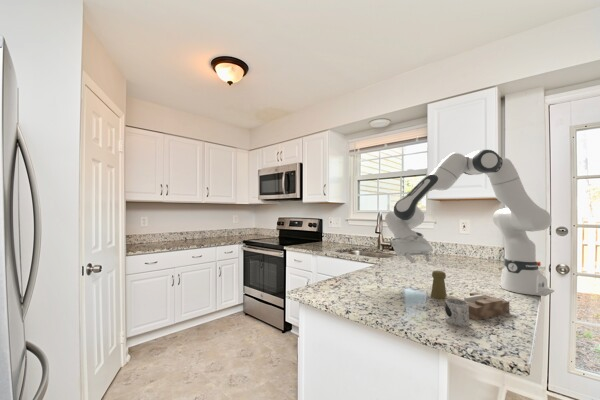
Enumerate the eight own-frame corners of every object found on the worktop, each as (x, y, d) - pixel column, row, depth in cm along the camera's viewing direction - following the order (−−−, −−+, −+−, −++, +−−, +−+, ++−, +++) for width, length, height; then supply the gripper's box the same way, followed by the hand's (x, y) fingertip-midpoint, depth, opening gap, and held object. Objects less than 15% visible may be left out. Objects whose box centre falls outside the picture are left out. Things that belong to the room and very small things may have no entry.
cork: (449, 300, 110) (449, 273, 110) (433, 298, 111) (433, 272, 112) (444, 295, 116) (444, 269, 116) (429, 294, 117) (429, 269, 118)
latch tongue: (481, 306, 102) (480, 294, 102) (483, 307, 101) (483, 295, 101) (464, 309, 98) (464, 296, 98) (467, 310, 97) (467, 297, 97)
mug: (444, 316, 92) (444, 297, 92) (466, 320, 90) (466, 300, 90) (447, 328, 83) (447, 306, 83) (472, 332, 80) (472, 310, 81)
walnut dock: (476, 302, 108) (476, 289, 108) (509, 313, 97) (509, 299, 97) (444, 307, 101) (444, 294, 101) (476, 320, 90) (476, 305, 90)
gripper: (392, 234, 126) (408, 259, 116) (424, 233, 134) (442, 256, 124) (385, 242, 130) (400, 267, 120) (417, 241, 138) (433, 264, 128)
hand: (421, 261), depth 122 cm, fingers open, 8 cm apart
